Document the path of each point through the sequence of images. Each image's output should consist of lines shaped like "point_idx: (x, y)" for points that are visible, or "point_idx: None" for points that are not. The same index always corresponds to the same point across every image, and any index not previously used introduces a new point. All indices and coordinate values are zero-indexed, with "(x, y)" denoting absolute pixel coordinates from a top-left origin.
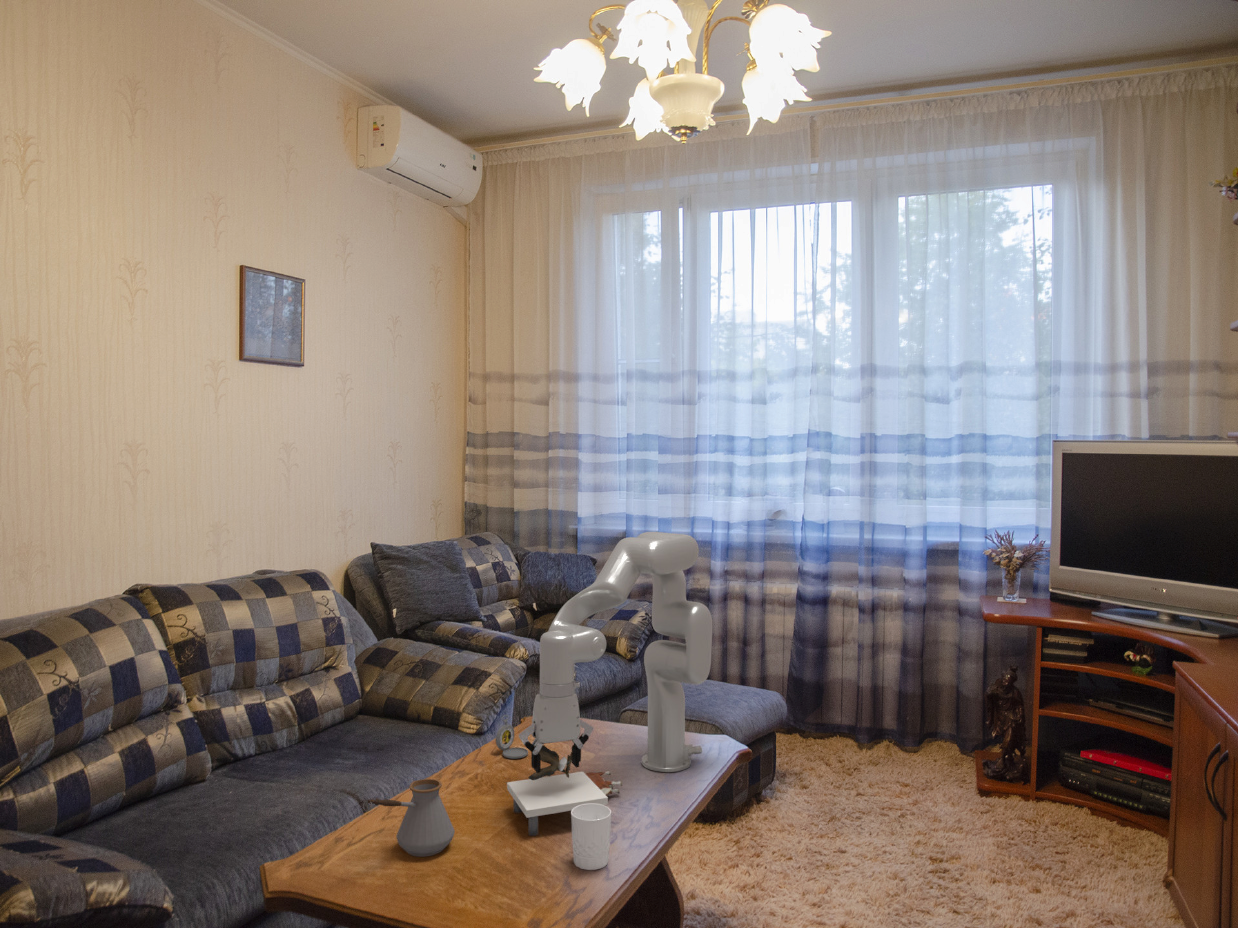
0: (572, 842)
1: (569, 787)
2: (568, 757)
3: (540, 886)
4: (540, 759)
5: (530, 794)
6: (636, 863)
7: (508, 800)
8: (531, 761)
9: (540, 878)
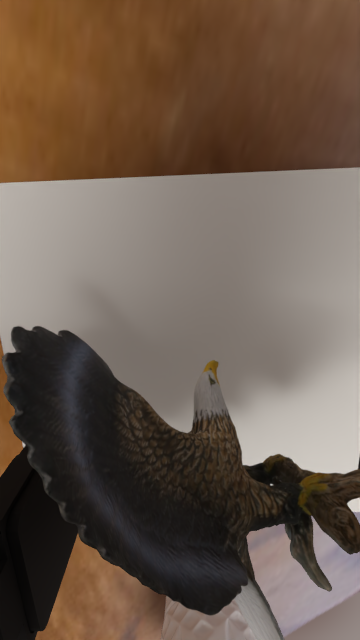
0: (162, 634)
1: (282, 364)
2: (336, 541)
3: (71, 634)
4: (58, 586)
5: None
6: (305, 618)
7: (52, 103)
8: (5, 473)
9: (76, 611)
